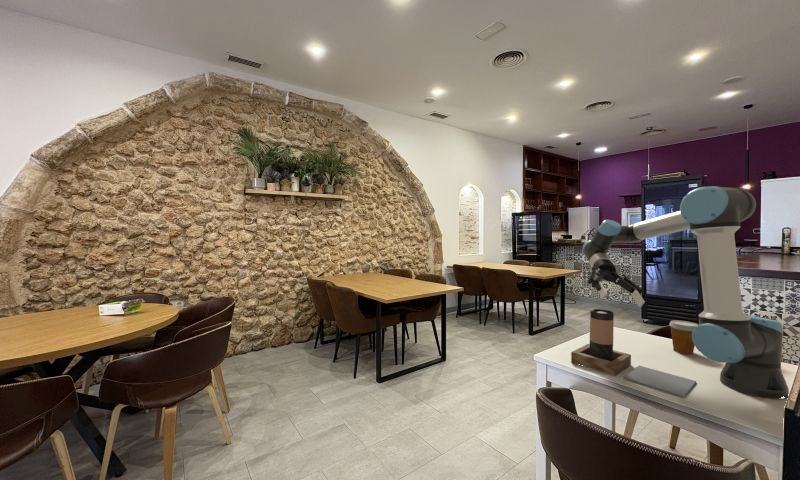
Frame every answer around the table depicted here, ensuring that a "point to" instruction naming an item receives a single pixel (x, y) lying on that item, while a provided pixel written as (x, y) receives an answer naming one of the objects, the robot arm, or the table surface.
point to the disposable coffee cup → (682, 336)
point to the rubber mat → (660, 381)
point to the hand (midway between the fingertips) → (623, 300)
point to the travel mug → (601, 334)
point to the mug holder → (601, 361)
